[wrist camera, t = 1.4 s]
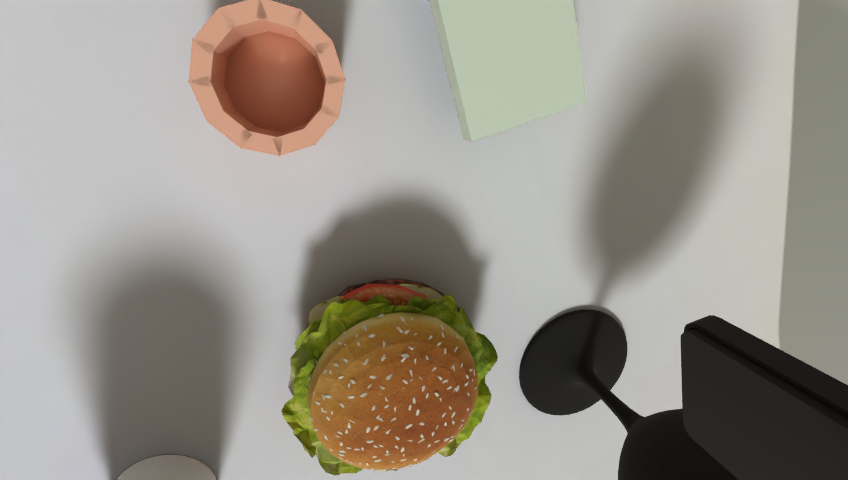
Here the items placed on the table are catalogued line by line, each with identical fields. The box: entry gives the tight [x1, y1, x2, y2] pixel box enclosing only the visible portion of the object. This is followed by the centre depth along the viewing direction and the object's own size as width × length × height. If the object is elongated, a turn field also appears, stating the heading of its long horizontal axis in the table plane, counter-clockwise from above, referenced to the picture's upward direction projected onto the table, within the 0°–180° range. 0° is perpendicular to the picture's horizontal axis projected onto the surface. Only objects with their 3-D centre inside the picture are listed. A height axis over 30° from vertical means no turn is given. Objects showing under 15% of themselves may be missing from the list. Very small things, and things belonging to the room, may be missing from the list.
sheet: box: [429, 0, 587, 141], centre depth 23 cm, size 12×8×1 cm, turn 16°
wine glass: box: [519, 310, 738, 480], centre depth 28 cm, size 10×10×20 cm
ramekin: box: [189, 0, 345, 156], centre depth 23 cm, size 7×7×4 cm
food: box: [282, 279, 498, 475], centre depth 29 cm, size 14×14×8 cm
